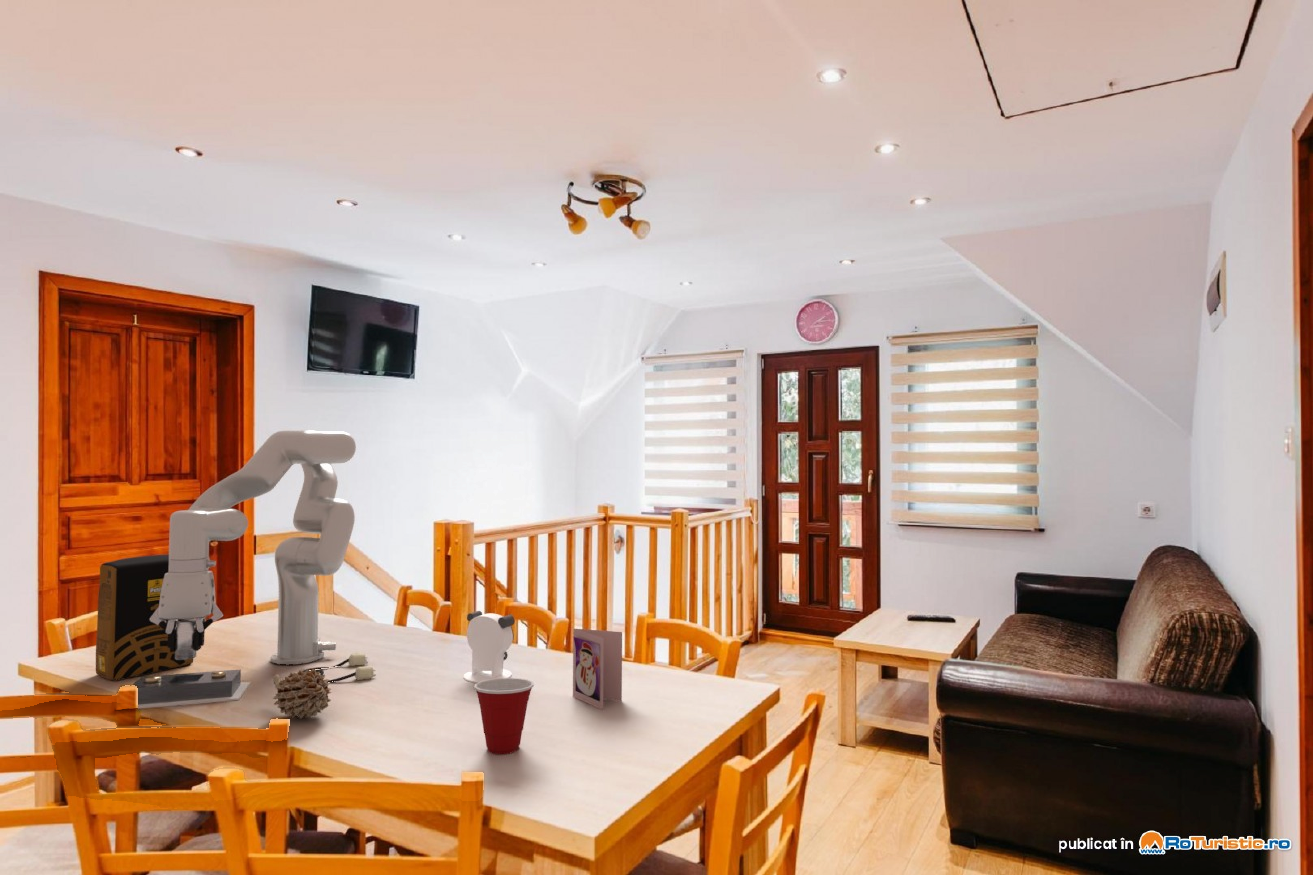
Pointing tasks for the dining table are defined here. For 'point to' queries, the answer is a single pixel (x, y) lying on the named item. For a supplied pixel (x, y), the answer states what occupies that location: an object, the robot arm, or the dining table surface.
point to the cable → (353, 660)
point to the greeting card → (597, 666)
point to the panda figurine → (489, 645)
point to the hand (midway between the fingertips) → (185, 649)
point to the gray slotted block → (187, 686)
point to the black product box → (132, 619)
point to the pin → (185, 639)
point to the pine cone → (302, 693)
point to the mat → (235, 696)
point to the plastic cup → (503, 712)
